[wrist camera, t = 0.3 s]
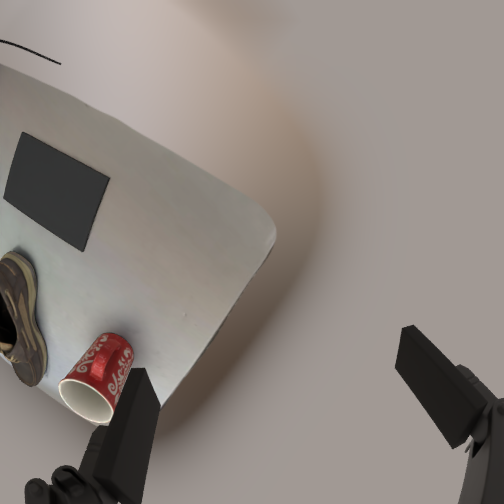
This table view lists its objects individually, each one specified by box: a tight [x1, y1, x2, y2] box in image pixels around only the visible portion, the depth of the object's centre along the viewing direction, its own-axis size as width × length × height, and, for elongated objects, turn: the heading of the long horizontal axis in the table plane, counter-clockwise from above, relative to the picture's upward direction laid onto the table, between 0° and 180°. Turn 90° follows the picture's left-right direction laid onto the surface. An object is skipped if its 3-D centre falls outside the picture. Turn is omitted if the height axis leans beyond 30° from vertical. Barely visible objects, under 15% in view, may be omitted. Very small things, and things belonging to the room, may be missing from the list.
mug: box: [59, 333, 134, 423], centre depth 37 cm, size 13×9×14 cm
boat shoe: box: [0, 252, 47, 387], centre depth 37 cm, size 11×29×11 cm, turn 168°
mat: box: [3, 132, 110, 252], centre depth 35 cm, size 20×12×1 cm, turn 61°
